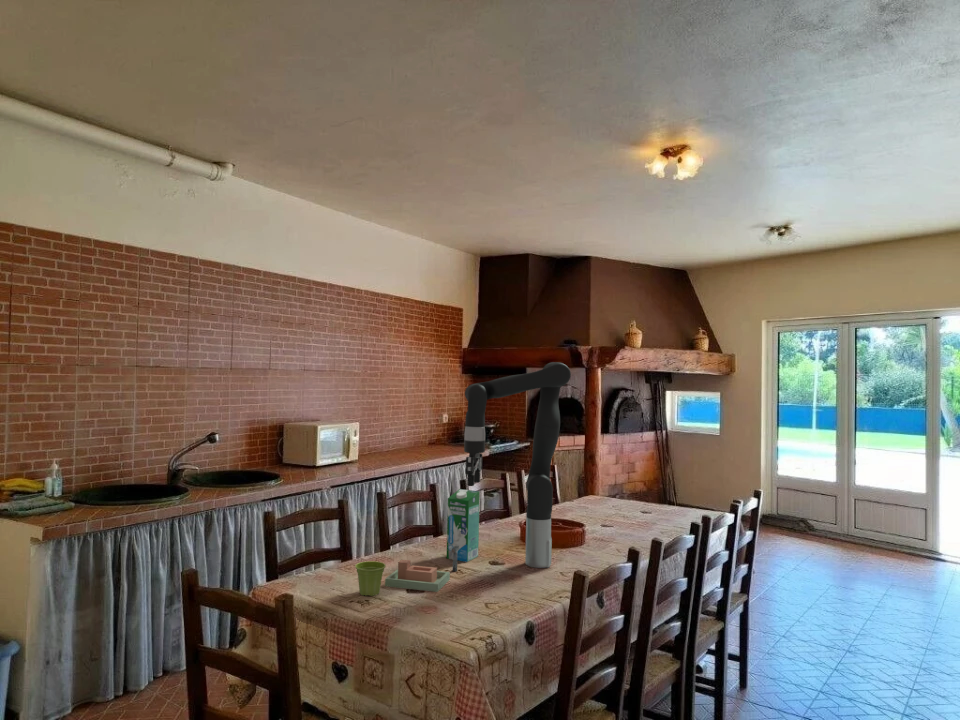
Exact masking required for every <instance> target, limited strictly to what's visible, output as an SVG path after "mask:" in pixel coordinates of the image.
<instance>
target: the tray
mask: <svg viewBox="0 0 960 720" xmlns="http://www.w3.org/2000/svg"><path fill="white" fill-rule="evenodd" d="M450 577H451V572H450V571H442V570H437V580H436V581H435V582H434V583H431V582H422V581H412V580H403V579H398V568H397V569H396V570H395V571H393V572H392V573H390V574H389V575H388V576H386V577H385V578H384V586H385V587H391V588H397V589H407V590H416V591H417V590H418V591H426V592H427V591H428V592H434V593H435V592H436V593H437V592H439V591H440V590H441V589H442V588H443V587H444V586H446V584H447V583H448V582H449V581H450V580H451V579H450Z"/></svg>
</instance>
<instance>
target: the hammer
mask: <svg viewBox="0 0 960 720" xmlns="http://www.w3.org/2000/svg"><path fill="white" fill-rule="evenodd" d="M458 550H459V546H455V547H453V548H452V553H453V559H452V572H458V560H457V552H458Z"/></svg>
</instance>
